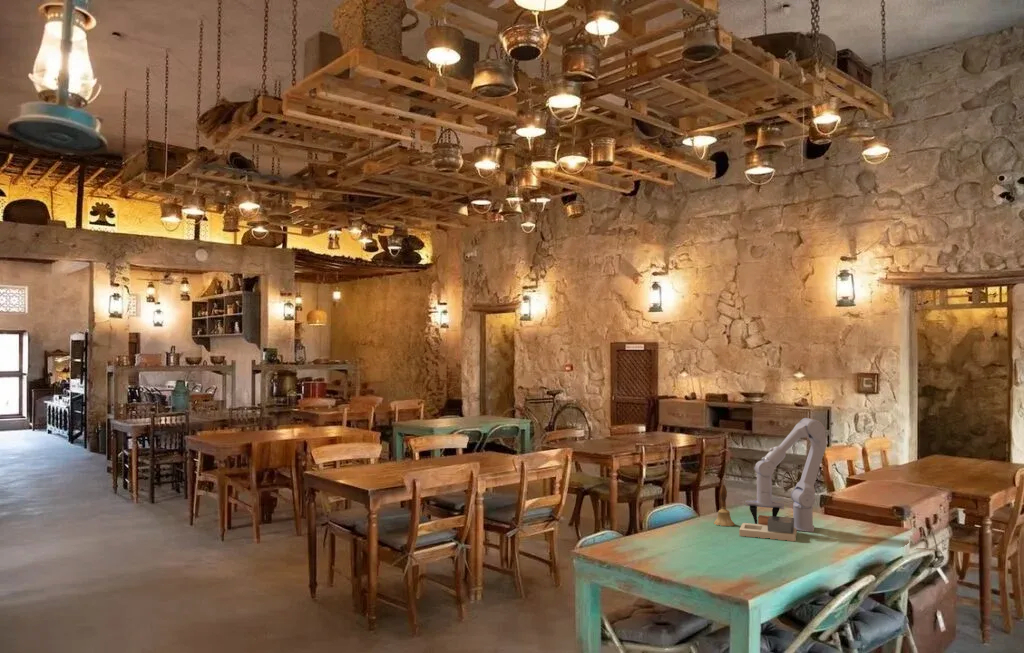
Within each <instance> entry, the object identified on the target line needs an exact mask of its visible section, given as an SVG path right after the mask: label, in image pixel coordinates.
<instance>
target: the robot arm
mask: <svg viewBox="0 0 1024 653" xmlns="http://www.w3.org/2000/svg"><path fill="white" fill-rule="evenodd" d="M803 438H808V440H809V441H810V443H811V444H810V447H809V451H808V454H807V458H806V461H805V463H804V466H803V471H802V473H801V477H800V479H799V481H798V482H797V483H796V484H795V486H794V488H793V489H792V490H791V492H790V499H791V500H792V502H793V504H792V514H793V515H792V516H793V517H792V518H794V528H797V531H799V532H809V533H811V532H812V533H814V532H815V531H814V530H815V525H814V524H813V523H814V520H813V518H814V515H813V506H814V504H815V500H816V497H815V494H816V489H815V484H816V479H817V476H818V474H819V470H820V468H821V467H820V466H821V463H822V460H823V457H824V454H825V450H826V448H827V444H828V441H827V440H828V439H827V436H826V427H825V426H824V425H823V423H822V422H821V421H820V420H818V419H814V418H813V419H812V418H809V417H804V418H802V419H801V420H799V421H798V422H797V423H796V424H795V425H794V427H793V428H792V429H791V431H790V432H789V433H788V434H787V436H786V437H785V438H784V439H783V441H781V443H780V444H779V445H778V446H773V447H770V448H769V449H768V450H769V451H768V453H767V454H765V456H762V457H761V460H759V461H756V463H755V466H754V467H753V469H754V471H755V473H756V500H745V502H744V505H745V507H749V511H750V513H751V515H752V517H753V521H754V522H753V523H754V524H758V507H759V508H768V509H769V508H770V509H771V516H778V513H779V512H780V510H784V509H785V503H782V502H776V501H774V502H773V489H772V488H773V486H772V485H773V481H772V475H773V474H774V473H775V468H777V466H778V465H779V464H780V463H781V462H782V461H783V460H784V459H785V458H786V456H787V455H786V454H787V453H786V452H787V451H788V450H789V449H790V448H791V447H792V446H794V445H795V443H797V442H798V441H799V439H803Z"/></svg>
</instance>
